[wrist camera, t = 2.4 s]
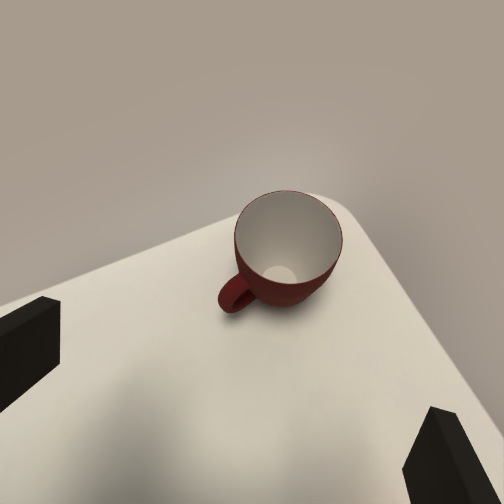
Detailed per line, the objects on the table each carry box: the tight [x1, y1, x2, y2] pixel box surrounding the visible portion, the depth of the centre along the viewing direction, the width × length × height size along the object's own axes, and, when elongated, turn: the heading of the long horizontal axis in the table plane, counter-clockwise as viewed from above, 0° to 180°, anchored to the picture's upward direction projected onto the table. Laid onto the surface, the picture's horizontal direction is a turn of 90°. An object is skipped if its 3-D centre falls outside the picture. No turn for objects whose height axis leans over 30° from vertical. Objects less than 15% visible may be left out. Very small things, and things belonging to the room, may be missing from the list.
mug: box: [218, 191, 343, 313], centre depth 29 cm, size 11×8×10 cm
